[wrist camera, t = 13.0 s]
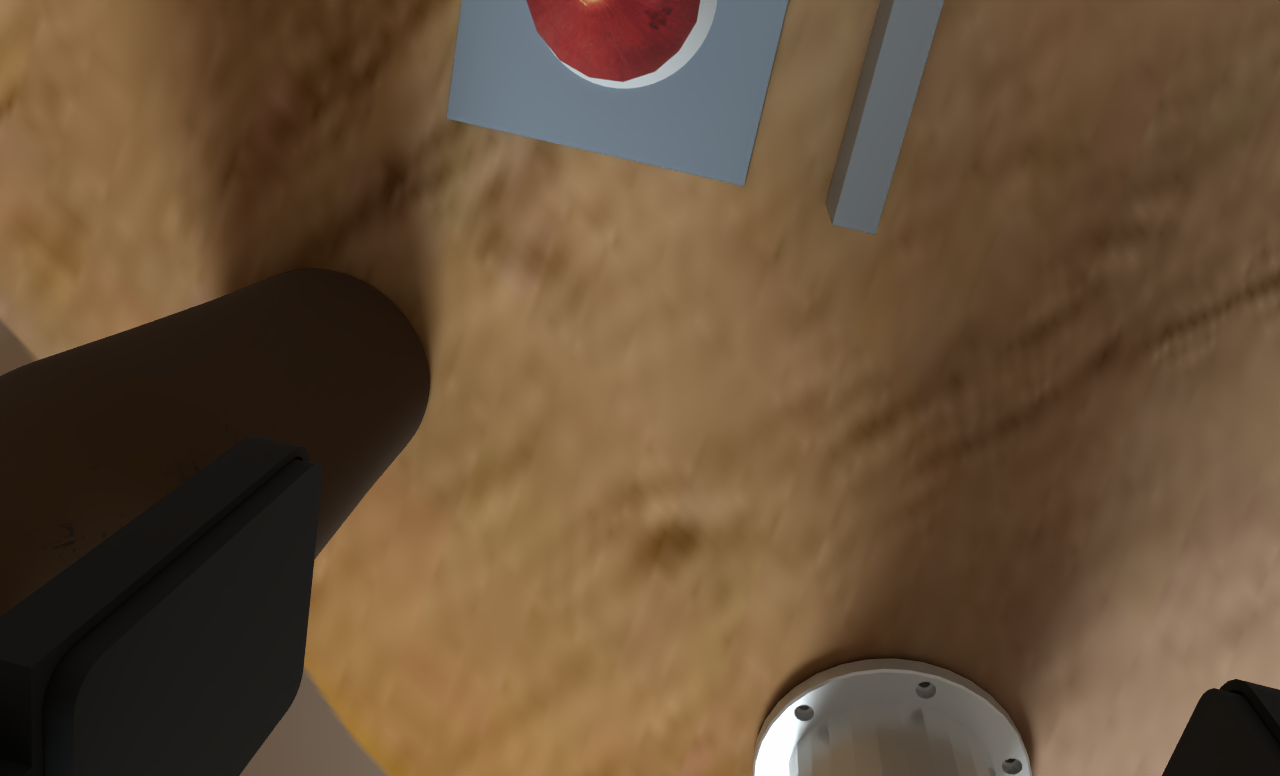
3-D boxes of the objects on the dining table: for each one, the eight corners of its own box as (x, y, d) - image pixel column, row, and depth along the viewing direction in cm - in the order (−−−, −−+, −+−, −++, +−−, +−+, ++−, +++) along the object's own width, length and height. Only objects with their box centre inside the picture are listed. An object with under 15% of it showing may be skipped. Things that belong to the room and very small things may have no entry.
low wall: (863, 211, 38) (875, 234, 33) (825, 203, 38) (832, 224, 33) (960, -128, 34) (989, -156, 29) (917, -137, 34) (940, -166, 29)
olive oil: (277, 203, 41) (-385, 409, 18) (488, 346, 42) (124, 722, 19) (178, 395, 45) (-480, 777, 21) (374, 523, 46) (-51, 1025, 22)
